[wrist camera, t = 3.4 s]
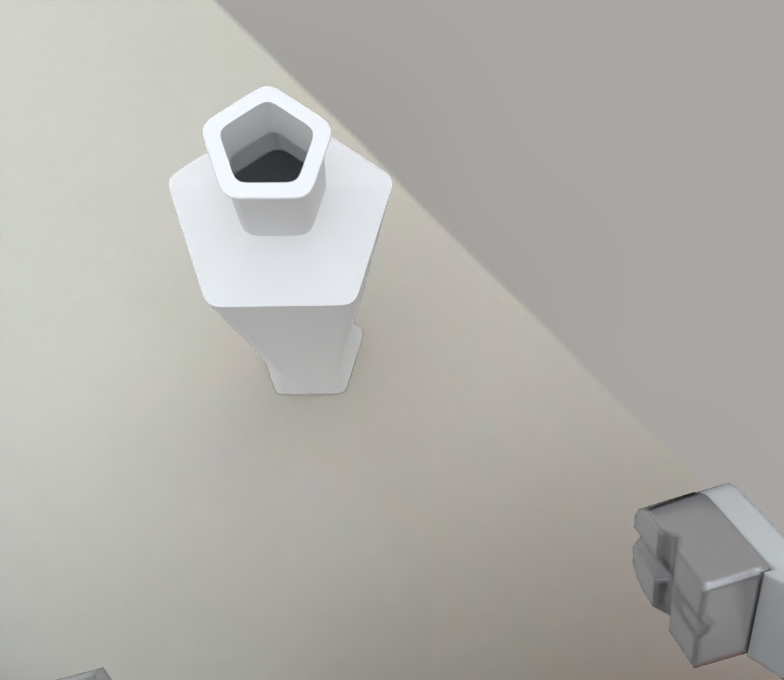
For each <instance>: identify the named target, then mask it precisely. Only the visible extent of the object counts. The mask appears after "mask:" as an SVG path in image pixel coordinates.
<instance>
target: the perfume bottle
mask: <svg viewBox="0 0 784 680" xmlns="http://www.w3.org/2000/svg"><path fill="white" fill-rule="evenodd" d="M331 133H332V130H331V127H330V125H329V123H328V122H327V121H325V120H324V119H323V118H322V117H320V116H319V115H317V114H316V113H314V112H313V111H311V110H310V109H308V108H307V107H305V106H303V105H302V104H300V103H299V102H297V101H296V100H294V99H293V98H291V97H290V96H288V95H286V94H285V93H283V92H282V91H280V90H278V89H276V88H274V87H272V86H263V87H261V88H259V89H256V90H255V91H253V92H251V93H250V94H248V95H247V96H245V97H243V98H242V99H240V100H239V101H237V102H235V103H234V104H232V105H231V106H229V107H227V108H226V109H224V110H223V111H221V112H219V113H218V114H216V115H215V116H213V117H212V118H210V119H209V120H208V121H207V122H206V123H205V125H204V127H203V130H202V134H203V140H204V143H205V146H206V149H207V153H205V154H204V155H202V156H201V157H199V158H197V159H196V160H194V161H193V162H191V163H190V164H188V165H186V166H185V167H183V168H182V169H180V170H179V171H177V172H176V173H175V174H174V175H173V176H171V178H170V181H169V189H170V193H171V196H172V199H173V202H174V205H175V208H176V212H177V215H178V218H179V221H180V224H181V227H182V231H183V234H184V237H185V240H186V243H187V246H188V250H189V253H190V256H191V259H192V262H193V265H194V269H195V272H196V275H197V278H198V281H199V284H200V288H201V291H202V294H203V296H204V298H205V300H206V302H207V303H208V304H209V305H210V306H211V307H212V308H213V309H214V310H215V311H216V312H217V313H218V314H219V315H220V316H221V317H222V318H223V319H224V320H225V321H226V322H227V323H228V324H229V325H230V326H231V327H232V328H233V329H234V330H235V331H236V332H237V333H238V334H239V335H240V336H241V337H242V338H243V339H244V340H245V341H246V342H247V343H248V344H249V345H250V346H251V347H252V348H253V349H254V350H255V351H256V352H257V353H258V354H259V355H260V356H261V357H262V358H263V359H264V360H265V361H266V364H267V367H268V370H269V373H270V376H271V379H272V382H273V385H274V388H275V390H276V392H278V393H279V394H284V395H286V394H331V393H342V392H343V391H345V390H346V388H347V385H348V382H349V379H350V375H351V372H352V369H353V366H354V363H355V359H356V356H357V353H358V350H359V346H360V343H361V340H362V336H363V332H362V329H361V328H360V327H358V326H357V325H356V324H355V319H356V316H357V312H358V308H359V305H360V301H361V298H362V294H363V290H364V287H365V283H366V279H367V276H368V272H369V268H370V265H371V261H372V257H373V254H374V250H375V247H376V243H377V239H378V236H379V232H380V228H381V225H382V221H383V217H384V214H385V210H386V207H387V203H388V199H389V196H390V192H391V188H392V180H391V178H390V176H389V175H388V174H387V173H386V172H385V171H383V170H382V169H380V168H379V167H377V166H376V165H374V164H373V163H371V162H369V161H368V160H366V159H365V158H363V157H362V156H360V155H359V154H357V153H356V152H354V151H353V150H351V149H349V148H348V147H346V146H345V145H343V144H342V143H340V142H339V141H337V140H336V139H334V138H333V137H331Z"/></svg>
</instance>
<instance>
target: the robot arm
mask: <svg viewBox="0 0 784 680" xmlns="http://www.w3.org/2000/svg"><path fill="white" fill-rule="evenodd" d="M634 528H635V529H636V531H637V532H638V533H639V535H640V536H641V537H640V538H639V539H638V541H637V542H636V543H635V545H634V546H633V565H634V568H635V572H636V576H637V579H638V581H639V583H640V585H641V587H642V590H643V592H644V593H645V595H646V596H647V598H648V600H649V601H650V603H651V604H652V606H654V607H655V608H657V609H659V610H661V611H663V612H665V613H667V614H669V615H670V622H669V632H670V633H671V635H672V636H673V638H674V639H675V641H676V642H677V643H678V645H679V646H680V648H681V649H682V651H683V652H684V654H685V655H686V657H687V658H688V660H689V661H690V663H691V664H692V666H693V667H694V668H697V667H700V666H704V665H707V664H711V663H714V662H717V661H721V660H724V659H728V658H731V657H735V656H738V655H741V654H745V653H748V654H747V656H748V657H749V658H751V659H753V660H754V661H756V662H757V663H759V664H760V665H762V666H763V667H765V668H766V669H768V670H770V671H771V672H773V673H774V674H776V675H777V676H779V677H780V678H782V679H784V536H783V535H782V534H781V533H780V532H779V531H778V530H777V529H776V528H775V527H774V526H773V524H772V523H771V522H770V521H769V520H768V519H767V518H766V517H765V516H764V515H763V514H762V513H761V512H760V511H759V510H758V509H757V508H756V507H755V506H754V505H753V504H752V503H751V502H750V501H749V500H748V498H747V497H746V496H745V495H743V493H742V492H741V491H740V490H739V489H738V488H737V487H736V486H734V485H732V484H730V483H727V484H723V485H720V486H716V487H713V488H709V489H706V490H703V491H699V492H697V493H696V492H693V493H690V494H687V495H683V496H680V497H677V498H674V499H670V500H667V501H664V502H661V503H657V504H654V505H651V506H648V507H645V508H641V509H638V511H637V513H636V514H635V519H634ZM58 680H112V679H111V678H110V676H109V675H108V673H107V672H106V670H105V669H104V668H99V669H95V670H92V671H88V672H84V673H80V674H77V675H73V676H69V677H65V678H61V679H58Z"/></svg>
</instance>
